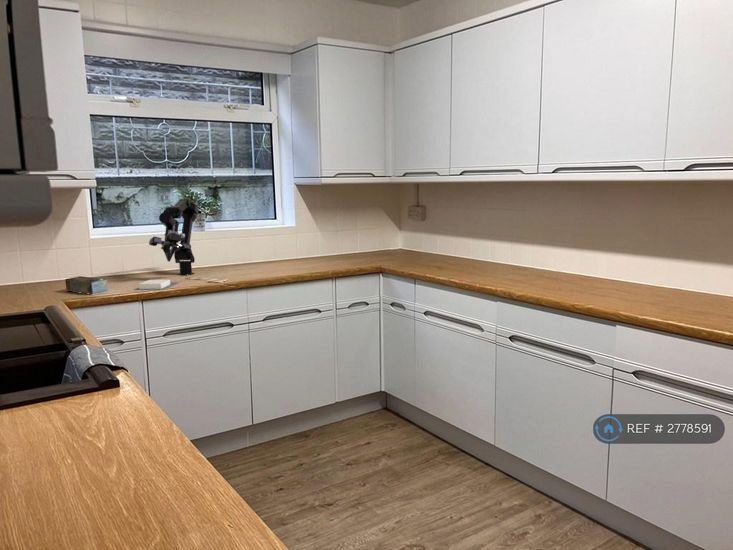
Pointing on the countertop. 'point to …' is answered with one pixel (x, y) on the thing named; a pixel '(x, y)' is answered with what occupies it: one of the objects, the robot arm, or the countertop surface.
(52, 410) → the countertop surface
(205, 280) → the turner
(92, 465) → the countertop surface
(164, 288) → the mat
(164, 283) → the tile
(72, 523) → the countertop surface
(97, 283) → the beverage carton
